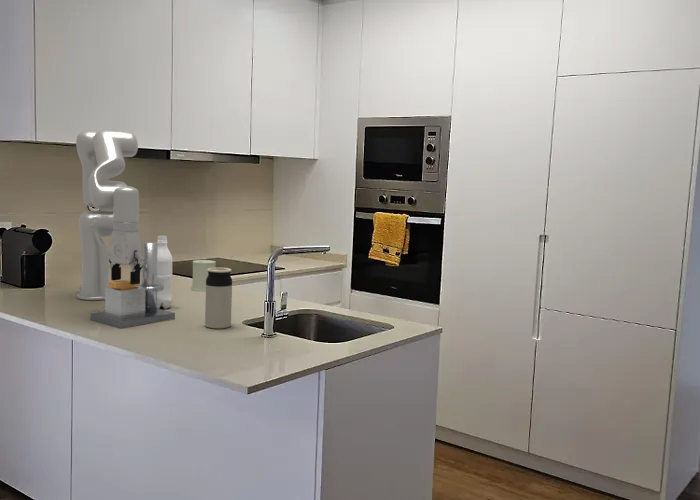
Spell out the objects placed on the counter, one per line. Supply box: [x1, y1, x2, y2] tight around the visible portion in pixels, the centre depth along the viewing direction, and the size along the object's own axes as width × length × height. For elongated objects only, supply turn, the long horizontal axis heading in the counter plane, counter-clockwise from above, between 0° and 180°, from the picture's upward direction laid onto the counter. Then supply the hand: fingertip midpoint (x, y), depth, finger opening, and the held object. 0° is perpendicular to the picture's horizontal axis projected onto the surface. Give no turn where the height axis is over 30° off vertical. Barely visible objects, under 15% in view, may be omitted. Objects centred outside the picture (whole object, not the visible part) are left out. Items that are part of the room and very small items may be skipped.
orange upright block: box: [108, 279, 139, 290], centre depth 215 cm, size 4×8×10 cm, turn 143°
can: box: [191, 259, 217, 292], centre depth 276 cm, size 9×9×12 cm
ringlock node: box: [90, 241, 176, 329], centre depth 218 cm, size 16×20×24 cm
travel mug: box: [204, 267, 233, 330], centre depth 213 cm, size 8×8×18 cm
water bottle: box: [156, 235, 173, 310], centre depth 237 cm, size 7×7×25 cm
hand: (125, 282), depth 215 cm, fingers open, 9 cm apart
